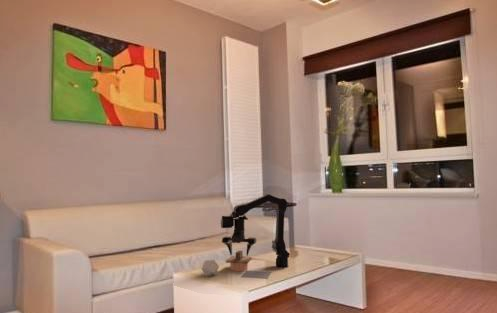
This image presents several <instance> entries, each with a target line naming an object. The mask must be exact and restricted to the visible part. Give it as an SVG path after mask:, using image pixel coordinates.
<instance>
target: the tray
mask: <svg viewBox="0 0 497 313" xmlns="http://www.w3.org/2000/svg"><path fill="white" fill-rule="evenodd" d="M271 273H272V271H264V270H263V271H261V270H258V271H257V270H245V271H244V272H243V274H242V275H241V276H240V278H247V279H263V280H268V278H269V277H270V276H271Z"/></svg>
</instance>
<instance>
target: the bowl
mask: <svg viewBox="0 0 497 313" xmlns="http://www.w3.org/2000/svg"><path fill="white" fill-rule="evenodd" d="M229 265H230V266H229V269H230V270H231V271H234V272H235V271H236V272H241V271H242V272H243V271H244V272H245V271H248V268H249V262H248V263H247V264H243V263H229Z"/></svg>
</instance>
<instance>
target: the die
mask: <svg viewBox="0 0 497 313" xmlns="http://www.w3.org/2000/svg"><path fill="white" fill-rule="evenodd" d="M219 268H220V267H219V264H218V263H217V261H216V260H215V259H206V260H204V262H203V265H202V267H201V271H202V273H203V274H204V276H205V277H212V276H214V277H215V276H216V275H217V273H218V270H219Z"/></svg>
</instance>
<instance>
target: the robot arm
mask: <svg viewBox="0 0 497 313" xmlns="http://www.w3.org/2000/svg"><path fill="white" fill-rule="evenodd" d="M266 203H271V204H272V205H274V209H275V212H276V217H275V218H276V222H275V224H276V226H275V239H274V240H272V242H271V243H272V246H271V249H272V251H273V253H275V255H276V258H275V267H276V268H288V267H289V258H290V255H291V254H290V252H288V250H287V248H286V242H285V238H284V234H285V213H286V211H287V207H288V201H287V199H285V198H283V197H282V198H281V197H276V196H273V195H272V194H269V193H266V194H264V195H263V196H260V197H258V198H255V199H253V200H251V201H249V202H247V203H240V204H236V205H235V206H234V207H233V210H232V212H231V213H230V215H222V216H221V220H220V228H221V229H232V228H233V227H234V228H233V234H232V235H231V236H223V237H222V238H221V243H223V244H224V245H226V246H227V249H228V251H229V253H230V256H233V244H234V243H235V244H241V243H246V257H249V253H250V251H251V248H252V246H253V245H255V244H256V243H257V238H256V237H254V236H253V237H248V238H246V237H245V230H246V228H245V221H246V220H248V219H249V218H248V217H247V216H246V214H247V213H248V212H250V211H252V209H255V208H257V207H259V206H261V205H263V204H266Z"/></svg>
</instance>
